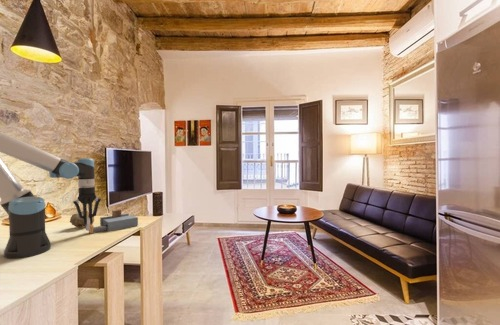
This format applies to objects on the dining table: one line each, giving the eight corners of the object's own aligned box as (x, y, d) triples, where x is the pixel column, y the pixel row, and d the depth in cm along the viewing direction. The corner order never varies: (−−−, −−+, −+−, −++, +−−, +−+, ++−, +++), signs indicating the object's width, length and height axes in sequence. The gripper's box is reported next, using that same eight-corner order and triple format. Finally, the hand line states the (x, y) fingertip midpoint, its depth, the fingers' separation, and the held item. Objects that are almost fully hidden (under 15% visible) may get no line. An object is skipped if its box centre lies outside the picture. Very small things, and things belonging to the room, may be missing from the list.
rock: (84, 229, 144) (84, 212, 144) (67, 229, 144) (66, 212, 144) (97, 224, 156) (97, 208, 156) (81, 224, 156) (81, 208, 156)
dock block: (108, 231, 140) (108, 222, 140) (100, 225, 152) (100, 217, 152) (137, 225, 151) (137, 217, 151) (128, 221, 163) (127, 213, 163)
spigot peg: (114, 225, 151) (114, 211, 151) (112, 224, 154) (112, 210, 154) (121, 224, 154) (121, 210, 154) (119, 223, 157) (119, 209, 157)
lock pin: (90, 233, 135) (90, 226, 135) (88, 232, 138) (88, 224, 138) (119, 228, 145) (119, 221, 145) (116, 226, 148) (116, 220, 148)
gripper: (73, 188, 128) (75, 234, 129) (102, 186, 137) (103, 228, 138) (70, 187, 134) (72, 231, 134) (98, 185, 143) (99, 226, 143)
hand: (88, 230), depth 136 cm, fingers closed
